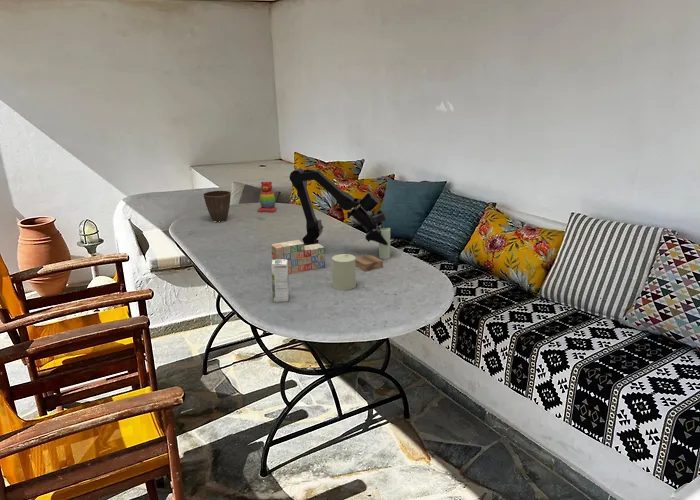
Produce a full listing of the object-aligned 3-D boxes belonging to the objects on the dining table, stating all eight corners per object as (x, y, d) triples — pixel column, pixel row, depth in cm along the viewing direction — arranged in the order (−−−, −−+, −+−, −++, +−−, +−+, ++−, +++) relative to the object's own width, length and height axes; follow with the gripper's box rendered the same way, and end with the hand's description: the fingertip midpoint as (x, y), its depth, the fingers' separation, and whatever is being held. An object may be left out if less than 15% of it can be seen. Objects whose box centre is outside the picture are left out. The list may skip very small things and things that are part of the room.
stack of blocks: (319, 263, 231) (318, 236, 227) (325, 267, 226) (324, 240, 222) (272, 271, 223) (271, 243, 219) (277, 276, 217) (275, 247, 213)
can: (359, 282, 209) (358, 254, 205) (351, 291, 200) (351, 261, 197) (337, 280, 212) (336, 251, 208) (329, 288, 203) (328, 259, 200)
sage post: (379, 258, 236) (379, 230, 232) (380, 255, 240) (380, 227, 236) (389, 258, 235) (389, 230, 231) (390, 255, 240) (390, 228, 236)
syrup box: (273, 296, 197) (271, 259, 193) (289, 295, 198) (287, 258, 193) (272, 302, 192) (270, 264, 187) (289, 301, 192) (287, 264, 188)
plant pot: (229, 224, 294) (227, 196, 289) (202, 224, 294) (200, 196, 289) (235, 217, 308) (233, 190, 303) (210, 217, 308) (207, 190, 303)
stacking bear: (256, 212, 320) (254, 183, 314) (262, 208, 329) (260, 179, 323) (274, 212, 318) (272, 183, 312) (278, 208, 327) (277, 180, 322)
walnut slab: (365, 271, 221) (365, 264, 220) (353, 265, 228) (353, 258, 227) (382, 267, 225) (382, 260, 224) (370, 261, 232) (370, 254, 232)
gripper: (373, 211, 223) (398, 237, 224) (378, 201, 240) (402, 225, 242) (354, 228, 226) (380, 254, 228) (361, 217, 244) (385, 241, 245)
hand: (387, 243), depth 236 cm, fingers closed on sage post, 4 cm apart
